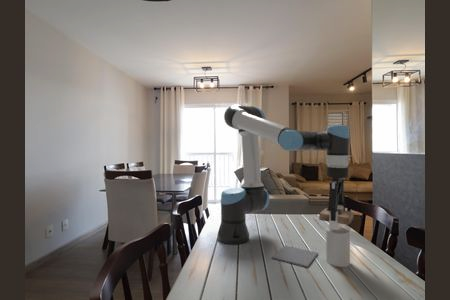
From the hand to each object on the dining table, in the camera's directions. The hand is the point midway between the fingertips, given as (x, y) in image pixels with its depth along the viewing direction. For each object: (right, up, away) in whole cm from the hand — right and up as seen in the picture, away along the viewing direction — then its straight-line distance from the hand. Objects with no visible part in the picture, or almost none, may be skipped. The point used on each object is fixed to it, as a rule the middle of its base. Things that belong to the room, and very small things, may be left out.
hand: (336, 225), depth 96 cm
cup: (0, -14, 0) cm, 14 cm away
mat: (-14, -14, +5) cm, 20 cm away
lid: (0, +2, 0) cm, 2 cm away
